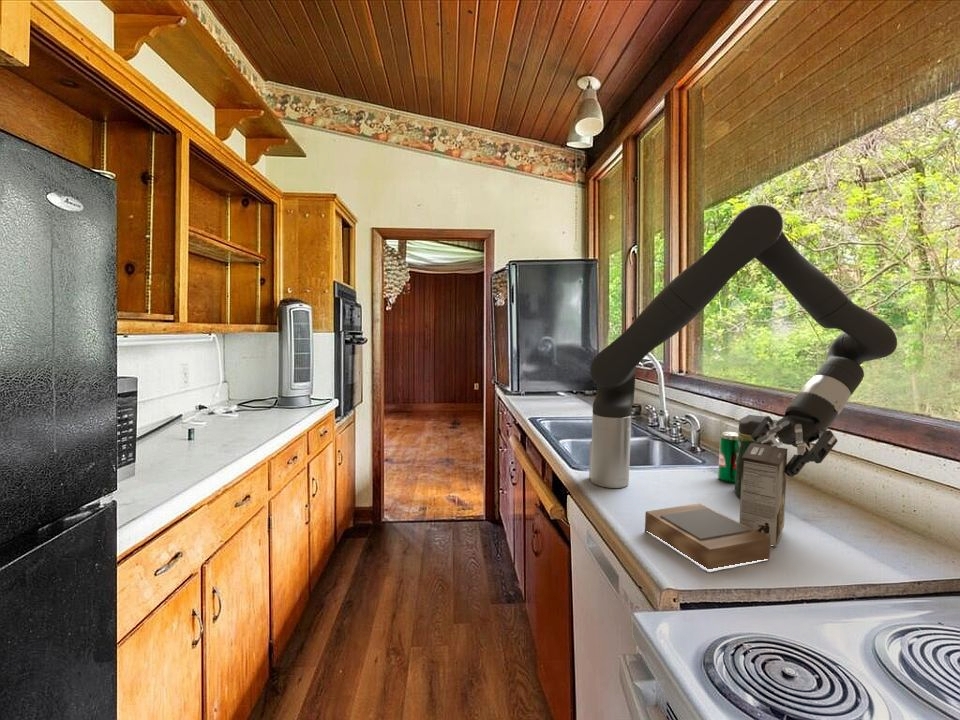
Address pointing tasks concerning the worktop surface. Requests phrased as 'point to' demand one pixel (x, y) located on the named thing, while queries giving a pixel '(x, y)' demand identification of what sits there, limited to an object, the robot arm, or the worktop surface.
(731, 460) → the soda can
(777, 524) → the coffee box
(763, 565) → the worktop surface
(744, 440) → the coffee jar
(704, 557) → the block
